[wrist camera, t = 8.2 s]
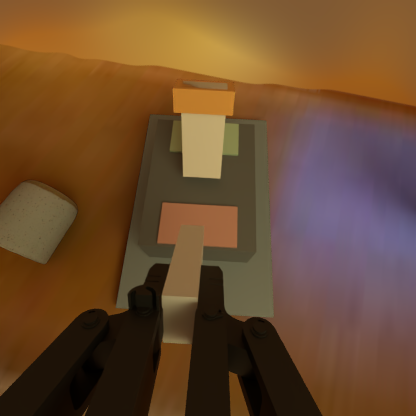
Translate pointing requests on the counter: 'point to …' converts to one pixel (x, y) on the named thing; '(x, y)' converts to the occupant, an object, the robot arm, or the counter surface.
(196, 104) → the breaker lever
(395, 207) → the counter surface
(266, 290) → the breaker box
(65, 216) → the ceramic mug
